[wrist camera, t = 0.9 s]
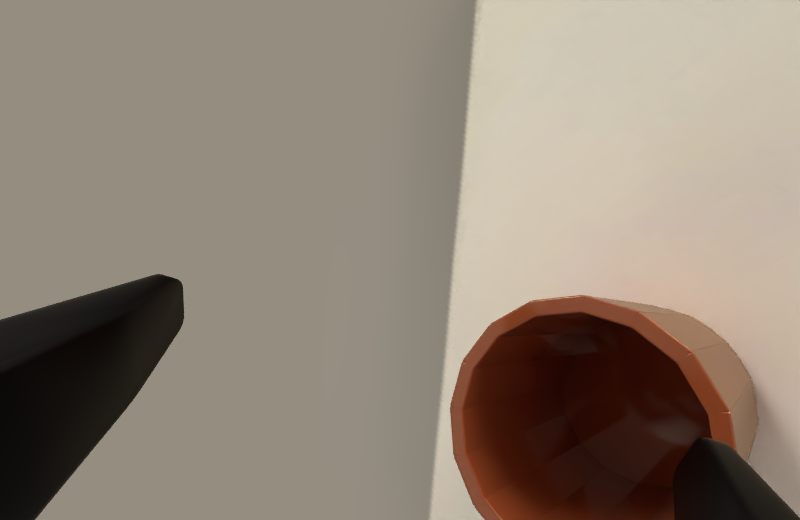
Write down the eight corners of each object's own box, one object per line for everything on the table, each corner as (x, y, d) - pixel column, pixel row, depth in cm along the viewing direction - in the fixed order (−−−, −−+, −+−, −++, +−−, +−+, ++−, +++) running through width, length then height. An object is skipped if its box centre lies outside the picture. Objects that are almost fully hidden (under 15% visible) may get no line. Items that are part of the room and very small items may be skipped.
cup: (805, 458, 16) (817, 551, 9) (611, 518, 19) (518, 619, 12) (684, 273, 18) (626, 245, 12) (529, 353, 21) (416, 365, 15)
